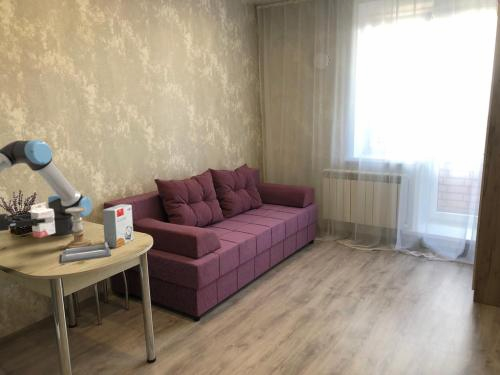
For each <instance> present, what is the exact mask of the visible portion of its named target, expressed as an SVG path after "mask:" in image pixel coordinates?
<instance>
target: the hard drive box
mask: <svg viewBox="0 0 500 375" xmlns="http://www.w3.org/2000/svg"><path fill="white" fill-rule="evenodd" d="M102 219H103V222H102V224H103V236H104V238H103V239H104V241H107V244H108V245H109V248H113V249H114V248H116V249H117V248H119V247H122V246H123V245H125V244H128V243H130V242H132V241H133V239H134V226H133V206H132V204H122V203H121V204H117V205H114V206H111V207H108V208H104V209H103V210H102ZM131 240H132V241H131ZM129 241H130V242H129ZM127 242H128V243H127Z"/></svg>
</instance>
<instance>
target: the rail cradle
mask: <svg viewBox="0 0 500 375" xmlns="http://www.w3.org/2000/svg"><path fill="white" fill-rule="evenodd" d="M110 248H111V247H109V245H108V244H107V241H105V240H104V244H96V245H91V246H87V247H80V248H72V249H68V248H66V249H65V251H61V264H65V263H72V262H78V261H85V260H92V259H99V258H107V257H112V254H111V249H110Z"/></svg>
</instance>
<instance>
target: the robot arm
mask: <svg viewBox="0 0 500 375" xmlns="http://www.w3.org/2000/svg"><path fill="white" fill-rule="evenodd" d="M52 151H53V150H52V148H51V147H50V145H49V144H47V143H46V142H44V141H41V140H36V139H33V140H22V139H21V140H14V141H12V142H10V143H7V144H6V145H4V146H3V147H2V148H0V174H1V173H2V172H3V171H4V170H6V169H10V168H12V167H13V166H16V165H18V164H25V165H27V166H28V167H29V169H30V170H31V171H32V172H37V173H38V174H39V176H40V177H41V178H42V179H43V180H44V181H45V183H46V184H48V186H49V187H50V188H51V189H52V191H53V192H54V193H55V194H52V195H49V196H48V197H47V205H48V209H53V211H54V220H53V216H51V217H42V218H37V219H31V212H30V213H25V214H15V215H12V217H9V215H8V214H7V213H0V232H5V231H9V229H10V228H11V229H12V228H17V227H18V228H19V227H32V226H37V223H38V224H44V223H53V222H55V233H54V234H50V235H49V236H53V237H54V236H56V237H57V236H66V235H72V234H73V232H74V231H73V230H72V227H73V221H72V219H73V215H71V213H66V212H65V210H66V209H68V208H73V207H86V208H87V210H86V211H84V212H82V213H81V215H80V217H81V218H86V217H88V216H89V215H90V214H91V212H92V209H93V202H92V200H91V198H90V197H87V196H84V195H82V193H81V192H80V191H79V190H76V189H74V188H73V186H72V184H70V183H69V181H68V179H66V177H65V176H64V175H63V173H62V172H61V171H60V170H59V169H58V167H57V166H56V165H55V164H54V162H53V159H54V158H53V152H52Z"/></svg>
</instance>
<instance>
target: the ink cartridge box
mask: <svg viewBox="0 0 500 375" xmlns="http://www.w3.org/2000/svg"><path fill="white" fill-rule="evenodd" d="M30 213H31V219H37V218H42V217H51V216H53V220H54V211H53V209H49V208H47V202H46V201H45V202H40V203H37V204H36V203H35V204H32V205H30ZM31 229H32V237H34V238H44V237H47V236H51V235H50V234H54V233H55V222H53V223H44V224H38V223H37V226H31Z"/></svg>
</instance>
